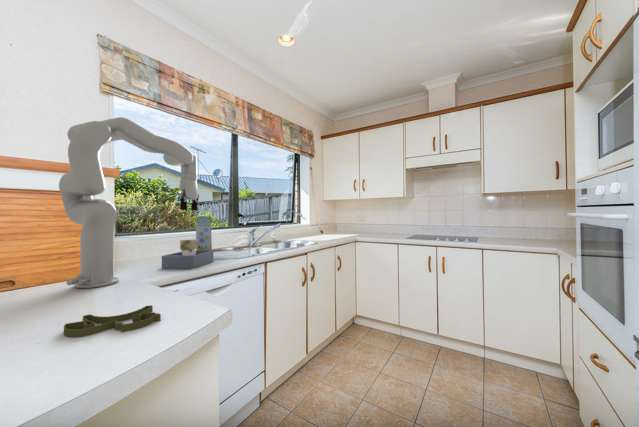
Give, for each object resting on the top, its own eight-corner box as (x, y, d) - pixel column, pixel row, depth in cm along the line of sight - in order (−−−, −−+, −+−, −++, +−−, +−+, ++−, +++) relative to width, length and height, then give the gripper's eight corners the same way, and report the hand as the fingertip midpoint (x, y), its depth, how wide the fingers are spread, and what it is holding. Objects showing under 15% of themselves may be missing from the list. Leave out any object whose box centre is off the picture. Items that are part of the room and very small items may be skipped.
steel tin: (179, 263, 134) (179, 250, 134) (186, 261, 141) (186, 248, 141) (191, 263, 134) (191, 250, 134) (198, 261, 141) (198, 248, 141)
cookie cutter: (160, 311, 72) (160, 303, 72) (160, 326, 61) (160, 318, 61) (71, 325, 62) (71, 316, 62) (53, 346, 52) (53, 336, 52)
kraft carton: (180, 249, 135) (180, 240, 135) (187, 248, 141) (187, 239, 141) (191, 250, 134) (191, 240, 134) (197, 248, 140) (197, 239, 140)
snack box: (195, 255, 170) (195, 215, 170) (210, 254, 174) (210, 215, 174) (195, 260, 150) (195, 215, 150) (212, 259, 154) (212, 215, 154)
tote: (193, 268, 127) (193, 256, 127) (161, 268, 128) (161, 255, 128) (213, 261, 147) (213, 250, 147) (185, 261, 148) (185, 250, 148)
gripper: (191, 179, 147) (191, 210, 147) (171, 175, 130) (171, 209, 129) (204, 179, 146) (204, 210, 146) (186, 174, 129) (186, 209, 129)
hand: (189, 210), depth 138 cm, fingers open, 9 cm apart
